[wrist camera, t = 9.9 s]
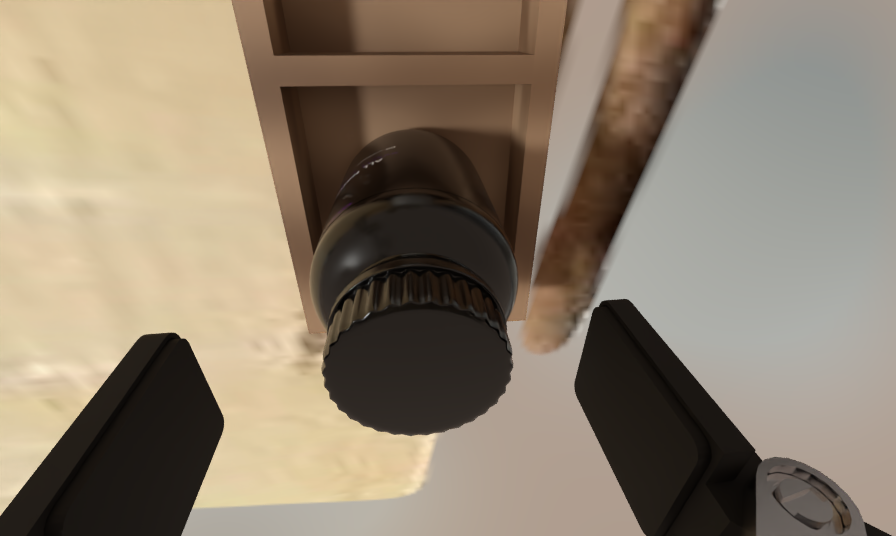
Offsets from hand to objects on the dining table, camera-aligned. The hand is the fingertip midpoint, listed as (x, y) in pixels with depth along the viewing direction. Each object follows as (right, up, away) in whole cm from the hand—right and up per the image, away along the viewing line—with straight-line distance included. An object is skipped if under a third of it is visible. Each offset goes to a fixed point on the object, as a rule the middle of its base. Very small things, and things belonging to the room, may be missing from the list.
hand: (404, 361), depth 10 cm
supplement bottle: (-1, +6, +11) cm, 12 cm away
